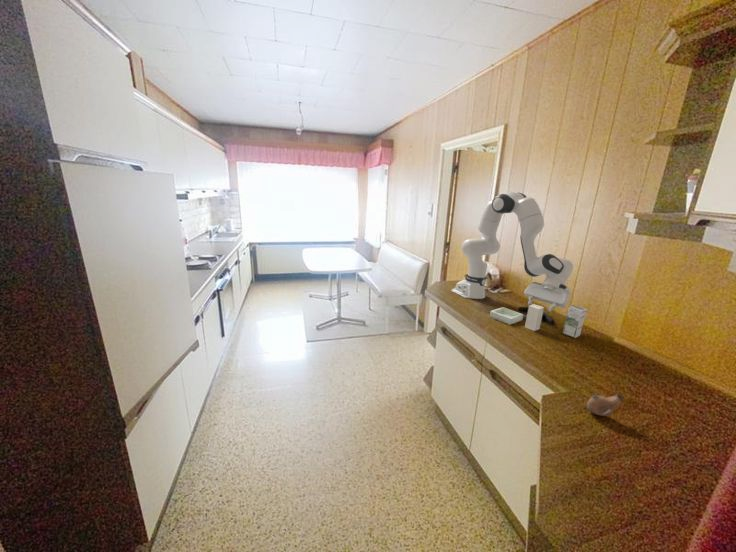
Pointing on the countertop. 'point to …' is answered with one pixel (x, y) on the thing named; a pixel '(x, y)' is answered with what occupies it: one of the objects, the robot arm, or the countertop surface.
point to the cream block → (534, 317)
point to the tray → (506, 315)
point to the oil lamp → (603, 404)
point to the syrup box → (574, 321)
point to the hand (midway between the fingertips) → (538, 307)
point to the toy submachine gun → (544, 316)
